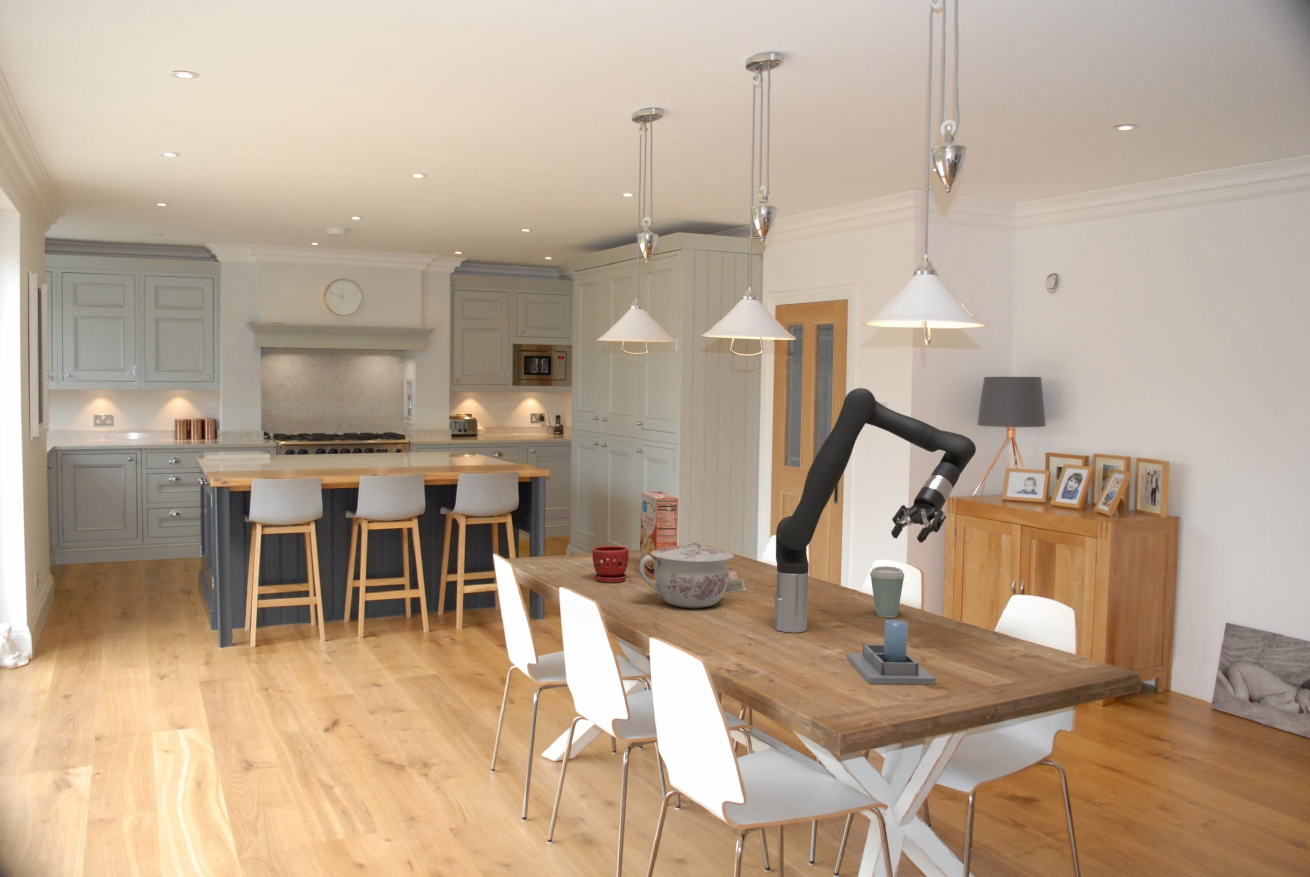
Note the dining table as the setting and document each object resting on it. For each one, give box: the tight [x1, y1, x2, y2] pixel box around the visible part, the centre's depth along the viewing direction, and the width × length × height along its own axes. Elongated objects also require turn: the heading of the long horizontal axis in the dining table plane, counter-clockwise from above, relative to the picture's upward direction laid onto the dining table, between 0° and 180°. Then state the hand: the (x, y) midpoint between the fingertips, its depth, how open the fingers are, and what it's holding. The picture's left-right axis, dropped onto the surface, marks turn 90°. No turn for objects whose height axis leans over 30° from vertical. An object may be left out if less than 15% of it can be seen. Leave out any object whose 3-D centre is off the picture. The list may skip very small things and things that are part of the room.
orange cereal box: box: [639, 491, 679, 581], centre depth 366 cm, size 23×8×30 cm, turn 15°
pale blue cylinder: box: [883, 619, 909, 663], centre depth 240 cm, size 6×6×12 cm
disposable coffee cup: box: [869, 566, 905, 619], centre depth 306 cm, size 11×11×15 cm
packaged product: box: [725, 570, 748, 592], centre depth 346 cm, size 18×5×10 cm
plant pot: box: [592, 545, 629, 583], centre depth 351 cm, size 13×13×12 cm
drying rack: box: [846, 643, 936, 686], centre depth 244 cm, size 16×22×4 cm
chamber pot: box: [637, 540, 735, 610], centre depth 315 cm, size 28×28×21 cm
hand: (906, 538), depth 265 cm, fingers open, 8 cm apart
